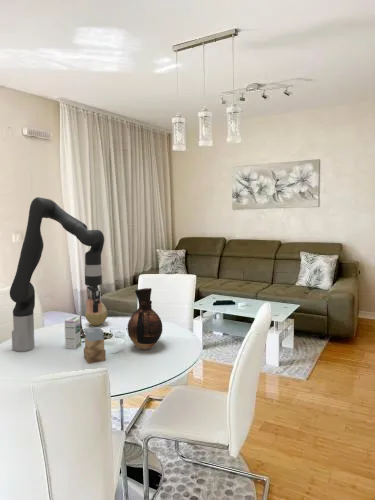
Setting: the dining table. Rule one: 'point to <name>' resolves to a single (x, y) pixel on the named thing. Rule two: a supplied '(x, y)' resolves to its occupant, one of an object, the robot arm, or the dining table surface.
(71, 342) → the syrup box
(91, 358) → the tower base
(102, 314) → the fossilized egg
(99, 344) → the tower mid
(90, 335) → the tower top
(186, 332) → the dining table surface
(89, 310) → the cube
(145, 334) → the ceramic vessel
